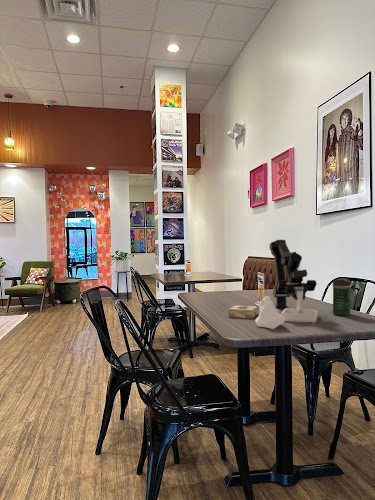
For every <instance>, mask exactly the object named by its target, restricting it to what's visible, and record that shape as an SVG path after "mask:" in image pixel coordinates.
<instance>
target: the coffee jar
mask: <svg viewBox="0 0 375 500" xmlns="http://www.w3.org/2000/svg"><path fill="white" fill-rule="evenodd" d="M332 314H333V315H337V316H339V315H342V316H349V315H350V314H351V281H350V279H348V278H345V277H344V278H343V277H340V278H336V279H334V280H332Z"/></svg>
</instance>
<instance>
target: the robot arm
mask: <svg viewBox="0 0 375 500" xmlns="http://www.w3.org/2000/svg"><path fill="white" fill-rule="evenodd" d="M269 250H270V253H271V255H272V256H273V257H274V266H275V275H276V281H275V284H274V287H273V291H272V296H273V297H274V298H275V299H276V300H275V303H276V304H275V305H276V306H274V307H275V308H276V309H285V308H288V307H289V306H288V305H287V304H288V302H287V298H290V297H292V298H293V299H294V300H295V301H296V300H297V297H296V290H295V287H296V286H302V287H304V289H303V301H305V300H306V293H307V292H313V291H315V290H316V286H317V284H318V283H317V281H316V280H315V279H307V280H306V282H303V281H304V278H306V277H307V276H308V270H307V269H299V268H300V266H301V262H302V257H303V256H302V255H300V253H297V251H292V252H291V251H290V249H289V248H288V244H287V241H286V239H276V240H274V241H271V242H270V243H269ZM284 267H285V269H284ZM285 274H286V275H287V279H286V277H285Z"/></svg>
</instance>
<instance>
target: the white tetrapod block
mask: <svg viewBox="0 0 375 500" xmlns="http://www.w3.org/2000/svg"><path fill="white" fill-rule="evenodd" d="M275 307H276V306H275V304H274V302H273V300H272V299H271V296H268V295H265V296H264V297H263V298H262V300H261V303H260V305H259V307H258V308H259V309H258V311H259V313H258V317H256V319H255V321H254V322H255V324H256V326H257V327H259V328H267V329H270V330H271V329H272V330H275V329H276V328H277V327H279V326H280V325H281V324H283V323H284V322H287V321H286V319H285V316H283V315H281V313H280V312H279V310H278V308H275Z"/></svg>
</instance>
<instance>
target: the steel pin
mask: <svg viewBox="0 0 375 500" xmlns="http://www.w3.org/2000/svg"><path fill="white" fill-rule="evenodd" d="M303 289H304V287H302V286H296V287H295V288H294V291H295V294H296V297H297V300H295V309H296V313H303V309H304V299H303Z"/></svg>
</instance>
